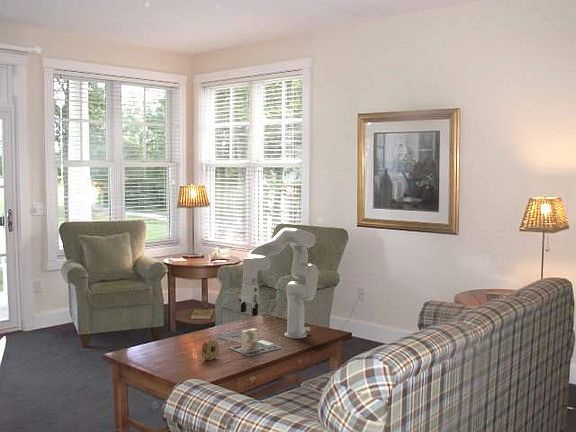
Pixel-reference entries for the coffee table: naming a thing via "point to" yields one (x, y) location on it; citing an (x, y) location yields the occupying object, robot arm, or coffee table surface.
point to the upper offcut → (265, 344)
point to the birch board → (249, 339)
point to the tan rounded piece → (206, 348)
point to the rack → (254, 350)
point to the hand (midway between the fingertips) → (249, 313)
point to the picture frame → (233, 336)
